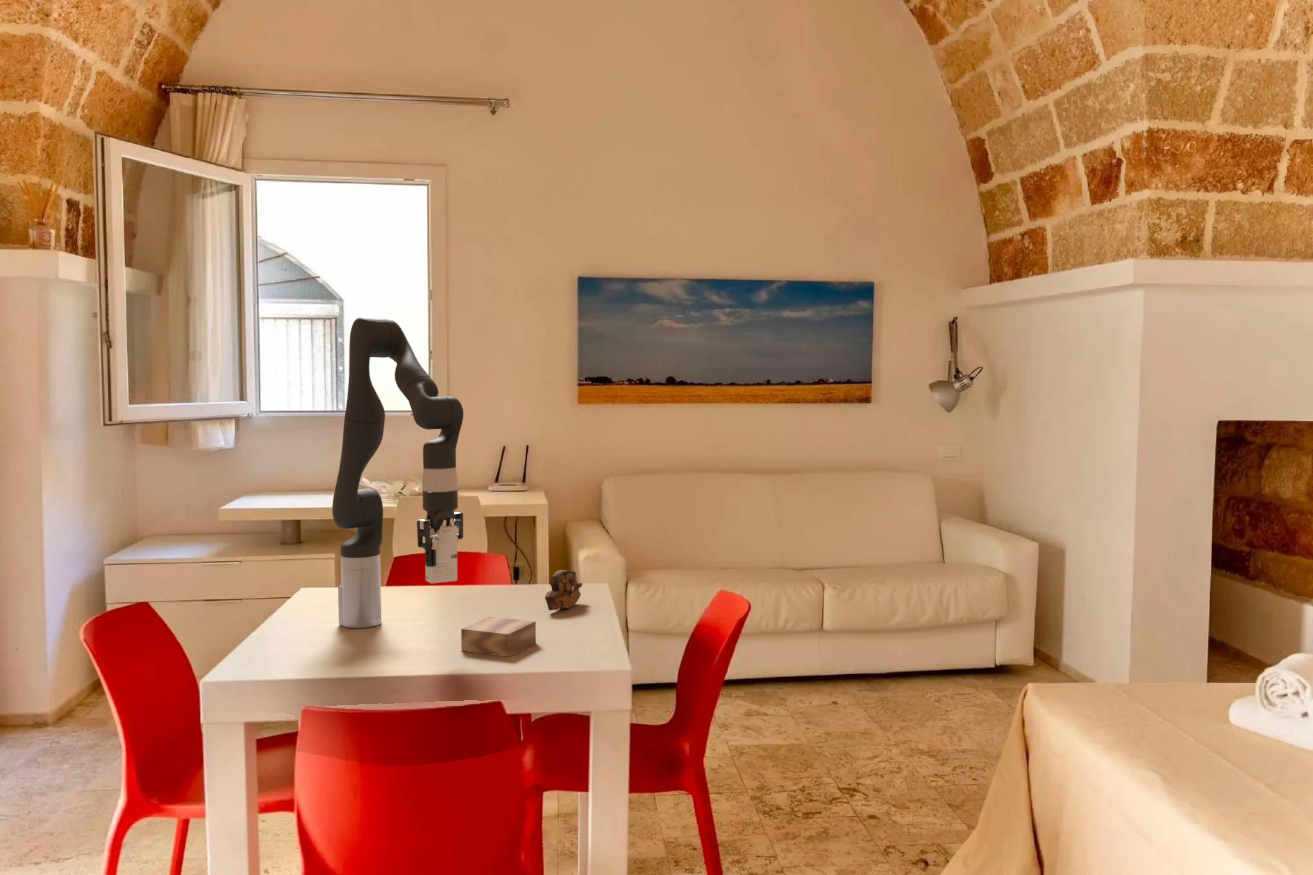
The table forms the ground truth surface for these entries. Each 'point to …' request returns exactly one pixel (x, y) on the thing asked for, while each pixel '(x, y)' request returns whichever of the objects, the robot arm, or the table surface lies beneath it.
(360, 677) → the table surface
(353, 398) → the robot arm
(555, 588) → the wooden carving
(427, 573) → the skincare box
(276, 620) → the table surface
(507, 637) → the walnut block
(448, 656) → the table surface
